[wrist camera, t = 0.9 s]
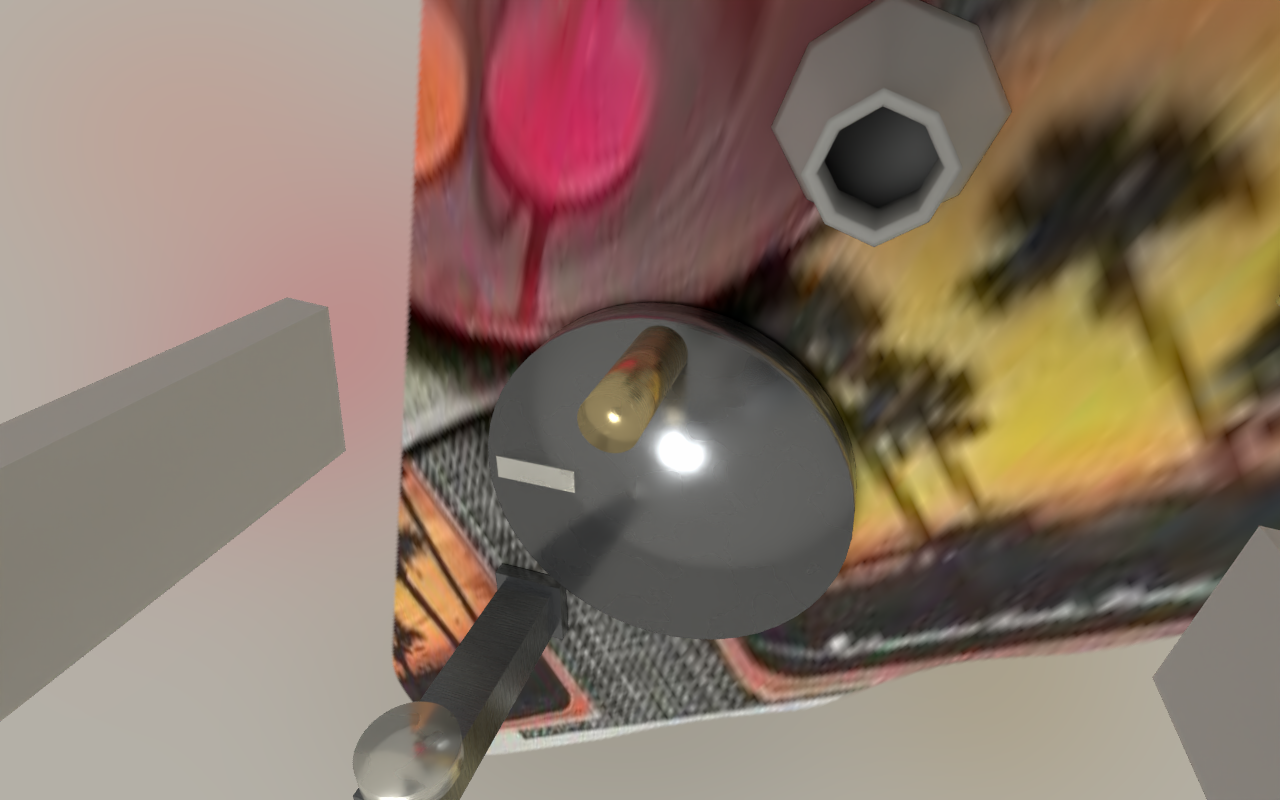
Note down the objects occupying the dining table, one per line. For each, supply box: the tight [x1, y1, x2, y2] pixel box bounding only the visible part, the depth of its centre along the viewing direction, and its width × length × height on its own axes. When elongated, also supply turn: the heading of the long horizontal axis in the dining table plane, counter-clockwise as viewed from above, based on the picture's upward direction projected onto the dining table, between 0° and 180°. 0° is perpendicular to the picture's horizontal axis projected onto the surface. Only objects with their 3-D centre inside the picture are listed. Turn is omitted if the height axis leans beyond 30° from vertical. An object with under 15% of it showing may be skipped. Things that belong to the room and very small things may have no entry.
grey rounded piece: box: [488, 302, 857, 639], centre depth 30 cm, size 17×17×8 cm
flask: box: [771, 0, 1012, 247], centre depth 19 cm, size 7×7×10 cm
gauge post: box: [353, 564, 568, 800], centre depth 34 cm, size 4×5×14 cm
